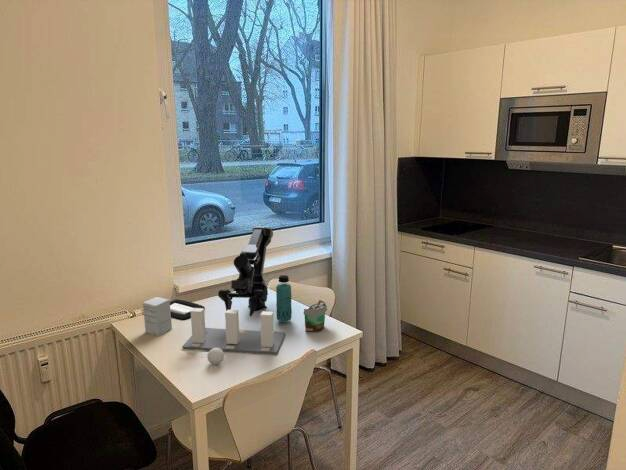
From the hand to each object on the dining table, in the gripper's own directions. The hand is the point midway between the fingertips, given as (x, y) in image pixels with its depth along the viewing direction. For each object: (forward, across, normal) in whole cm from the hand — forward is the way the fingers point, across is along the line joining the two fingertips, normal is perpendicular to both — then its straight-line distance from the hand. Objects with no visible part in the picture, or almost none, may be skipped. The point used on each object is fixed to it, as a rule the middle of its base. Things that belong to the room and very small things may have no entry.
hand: (238, 316), depth 165 cm
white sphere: (+21, -2, -11) cm, 24 cm away
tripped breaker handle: (+11, 0, -2) cm, 11 cm away
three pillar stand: (+10, 0, +1) cm, 10 cm away
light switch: (-7, -34, +17) cm, 39 cm away
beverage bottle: (-4, +14, +17) cm, 22 cm away
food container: (0, +29, +15) cm, 32 cm away
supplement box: (+6, -33, +2) cm, 34 cm away
